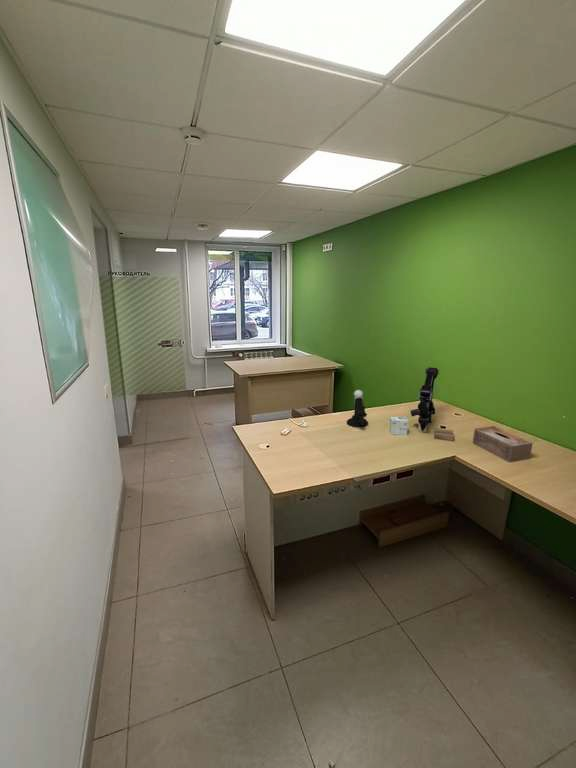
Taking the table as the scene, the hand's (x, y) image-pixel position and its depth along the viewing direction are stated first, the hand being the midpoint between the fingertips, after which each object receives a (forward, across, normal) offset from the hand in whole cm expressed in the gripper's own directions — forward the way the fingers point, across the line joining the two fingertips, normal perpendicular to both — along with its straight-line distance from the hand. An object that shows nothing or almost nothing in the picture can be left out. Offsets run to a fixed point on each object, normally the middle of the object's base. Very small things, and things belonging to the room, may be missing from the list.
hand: (422, 428), depth 227 cm
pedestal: (+2, +6, +13) cm, 14 cm away
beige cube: (+2, 0, 0) cm, 2 cm away
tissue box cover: (+2, +16, +43) cm, 46 cm away
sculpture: (+2, +6, -42) cm, 42 cm away
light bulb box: (+2, +10, -15) cm, 18 cm away
